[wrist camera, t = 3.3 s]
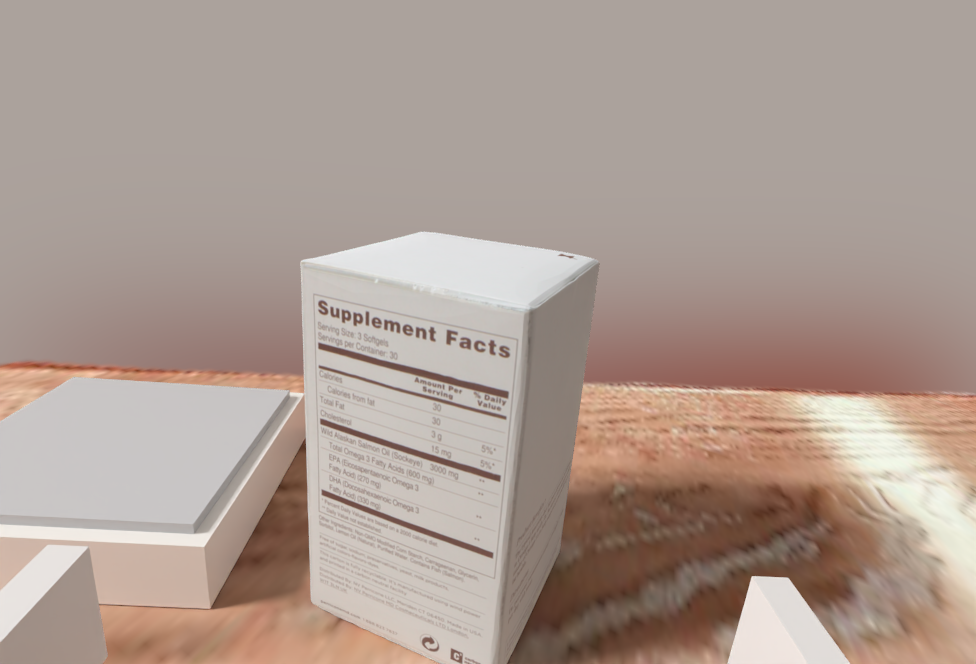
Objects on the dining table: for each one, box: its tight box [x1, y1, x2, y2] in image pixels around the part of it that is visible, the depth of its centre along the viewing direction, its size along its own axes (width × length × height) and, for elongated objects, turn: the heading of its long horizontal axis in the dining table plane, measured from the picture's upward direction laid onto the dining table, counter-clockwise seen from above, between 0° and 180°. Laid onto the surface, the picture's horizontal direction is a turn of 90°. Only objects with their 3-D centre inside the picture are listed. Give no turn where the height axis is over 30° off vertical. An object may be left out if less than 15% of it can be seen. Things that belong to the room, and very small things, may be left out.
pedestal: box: [0, 377, 306, 609], centre depth 25 cm, size 12×12×3 cm
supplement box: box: [300, 232, 599, 664], centre depth 20 cm, size 7×7×13 cm
